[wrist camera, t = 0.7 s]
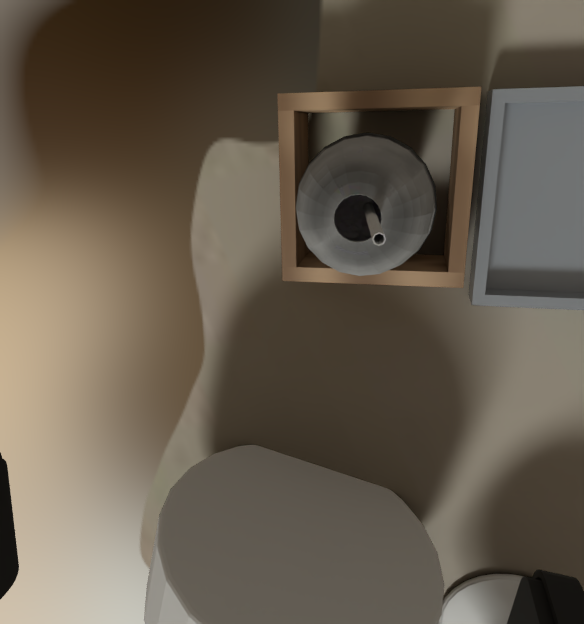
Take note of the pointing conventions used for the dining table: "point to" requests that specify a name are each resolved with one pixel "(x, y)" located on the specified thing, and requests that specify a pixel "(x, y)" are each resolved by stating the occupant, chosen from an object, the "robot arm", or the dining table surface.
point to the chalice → (481, 600)
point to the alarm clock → (288, 548)
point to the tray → (531, 201)
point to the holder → (451, 264)
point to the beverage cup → (366, 204)
